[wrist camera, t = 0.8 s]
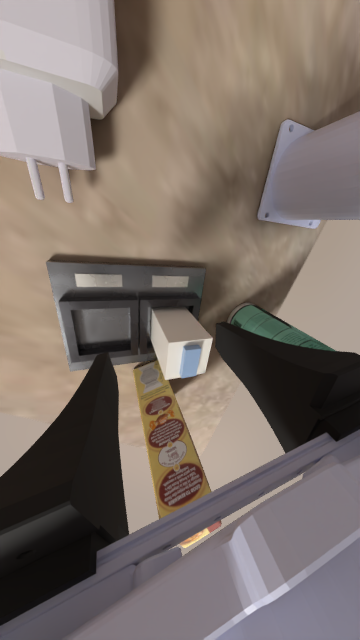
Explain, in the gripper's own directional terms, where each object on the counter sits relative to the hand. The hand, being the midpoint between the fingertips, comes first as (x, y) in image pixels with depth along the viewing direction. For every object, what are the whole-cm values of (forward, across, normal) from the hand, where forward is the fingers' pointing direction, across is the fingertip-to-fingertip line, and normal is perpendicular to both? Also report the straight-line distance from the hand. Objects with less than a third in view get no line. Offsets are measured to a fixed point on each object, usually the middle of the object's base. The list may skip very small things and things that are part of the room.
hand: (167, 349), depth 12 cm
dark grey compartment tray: (+10, +1, +2) cm, 10 cm away
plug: (+9, -2, +4) cm, 10 cm away
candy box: (+10, +1, +14) cm, 17 cm away
